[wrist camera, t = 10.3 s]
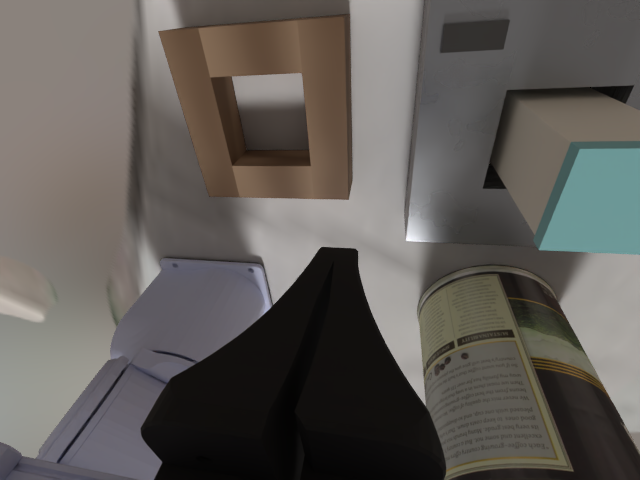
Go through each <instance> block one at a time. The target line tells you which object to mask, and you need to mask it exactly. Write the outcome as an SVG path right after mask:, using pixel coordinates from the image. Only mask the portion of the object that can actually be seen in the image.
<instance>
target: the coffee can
mask: <svg viewBox="0 0 640 480" xmlns="http://www.w3.org/2000/svg"><path fill="white" fill-rule="evenodd" d="M417 315H418V321H419V325H420V336H421V349H422V362H423V375H424V387H425V400H426V408H427V409H428V411H429V412H430V415H431V418H432V420H433V423H434V425H435V428H436V431H437V433H438V436H439V439H440V442H441V445H442V448H443V452H444V457H445V461H446V476H445V478H444V480H640V452H639V450H638V448H637V446H636V444H635V443H634V441H633V439H632V437H631V435H630V433H629V431H628V429H627V428H626V426H625V424H624V422H623V420H622V419H621V417H620V415H619V413H618V411H617V410H616V407H615V406H614V404H613V402H612V401H611V399H610V397H609V395H608V393H607V392H606V390H605V388H604V386H603V384H602V382H601V381H600V379H599V377H598V375H597V373H596V371H595V369H594V368H593V366H592V364H591V362H590V360H589V359H588V357H587V355H586V353H585V351H584V350H583V348H582V346H581V344H580V342H579V340H578V338H577V336H576V335H575V333H574V331H573V329H572V327H571V326H570V324H569V322H568V320H567V318H566V316H565V315H564V313H563V311H562V309H561V307H560V305H559V304H558V302H557V298H556V296H555V293H554V292H553V290H552V289H551V287H550V286H549V285H548V284H547V283H546V282H545V281H544V280H542V279H541V278H539V277H538V276H536V275H534V274H532V273H530V272H528V271H525V270H522V269H518V268H514V267H509V266H500V265H485V266H476V267H471V268H466V269H463V270H459V271H457V272H454V273H451V274H449V275H447V276H445V277H443V278H441V279H439V280H438V281H437V282H435V283H434V284H433V285H432V286H431V287H430V288H429V289H428V290H427V291H426V292H425V293H424V295H423V296H422V298H421V300H420V303H419V306H418V311H417Z"/></svg>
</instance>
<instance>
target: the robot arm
mask: <svg viewBox="0 0 640 480" xmlns="http://www.w3.org/2000/svg"><path fill="white" fill-rule="evenodd" d="M160 265H161V268H162V271H161V272H160V273H159V274H158V276H157V277H156V278H155V279H154V280H153V282H152V283H151V284H150V285H149V286H148V288H147V289H146V290H145V291H144V292H143V294H142V295H141V296H140V297H139V298H138V300H137V301H136V302H135V303H134V304H133V305H132V307H131V308H130V309H129V310H128V311H127V313H126V314H125V315H124V316H123V318H122V319H121V321H120V322H119V324H118V326H117V328H116V330H115V333H114V336H113V339H112V343H111V350H110V353H111V360H108V361H107V362H106V363H105V365H104V366H103V367H102V368H101V370H100V371H99V372H98V373H97V375H96V376H95V377H94V378H93V380H92V381H91V382H90V384H89V385H88V386H87V387H86V389H85V390H84V391H83V393H82V394H81V395H80V396H79V398H78V399H77V400H76V402H75V403H74V404H73V405H72V407H71V408H70V409H69V411H68V412H67V413H66V415H65V416H64V417H63V418H62V420H61V421H60V422H59V424H58V425H57V426H56V428H55V429H54V430H53V432H52V433H51V434H50V436H49V437H48V438H47V440H46V441H45V443H44V444H43V445H42V447H41V448H40V449H39V455H38V456H37V457H36V459H34V458H29V457H24V456H22V455H21V453H20V452H19V451H17V450H16V449H14V448H13V447H11V446H9V445H7V444H4V443H1V442H0V480H444V478H445V476H446V461H445V457H444V452H443V448H442V445H441V442H440V439H439V436H438V433H437V431H436V428H435V425H434V423H433V420H432V418H431V415H430V412H429V411H428V409H427V408H426V406H425V405H424V404H423V402H422V401H421V399H420V398H419V397H418V395H417V394H416V392H415V391H414V389H413V388H412V386H411V385H410V383H409V382H408V380H407V379H406V377H405V376H404V374H403V373H402V371H401V369H400V368H399V366H398V364H397V363H396V361H395V359H394V357H393V356H392V354H391V352H390V350H389V349H388V347H387V345H386V343H385V341H384V339H383V337H382V335H381V333H380V331H379V329H378V327H377V324H376V322H375V320H374V318H373V315H372V313H371V310H370V307H369V305H368V302H367V299H366V296H365V293H364V289H363V286H362V282H361V278H360V274H359V268H358V251H357V250H356V249H351V248H331V247H321V248H320V249H319V250H318V252H317V253H316V255H315V256H314V258H313V259H312V261H311V262H310V263H309V265H308V266H307V267H306V269H305V270H304V271H303V272H302V274H301V275H300V276H299V277H298V279H297V280H296V281H295V282H294V283H293V285H292V286H291V287H290V288H289V289H288V290H287V291H286V292H285V293H284V295H283V296H282V297H281V298H280V299H279V300H278V301H277V302H276V303H275V304H274V305H273V306H272V303H271V298H270V294H269V290H268V285H267V281H266V277H265V272H264V268H263V267H262V266H261V265H260V264H254V263H238V262H221V261H205V260H188V259H172V258H163V259H162V260H161V261H160ZM250 268H251V269H250ZM252 269H253V270H252Z"/></svg>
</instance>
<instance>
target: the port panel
mask: <svg viewBox="0 0 640 480" xmlns="http://www.w3.org/2000/svg"><path fill="white" fill-rule="evenodd" d="M575 87H592V88H591V89H594V90H596V91H598V92H600V93H602V94H605V95H607V96H609V97H611V98H613V99H616V100H618V101H620V102H622V103H624V104H627V105H629V106H631V107H633V108H635V109H637V110H640V0H425V2H424V12H423V23H422V33H421V44H420V55H419V65H418V76H417V86H416V97H415V108H414V118H413V129H412V139H411V150H410V161H409V171H408V182H407V192H406V203H405V214H404V217H405V233H406V241H417V242H440V243H463V244H486V245H509V246H532V247H536V245H535V243H534V241H533V239H534V236H535V235H534V233H533V231H532V230H531V228H530V226H529V225H528V223H527V222H526V220H525V218H524V217H523V215H522V213H521V212H520V210H519V208H518V207H517V205H516V203H515V202H514V200H513V198H512V197H511V195H510V193H509V192H508V190H507V188H506V187H505V185H504V183H503V182H502V180H501V178H500V177H499V175H498V174H497V172H496V170H495V169H494V167H493V165H489V161H490V157H491V153H492V149H493V145H494V141H495V137H496V132H497V128H498V124H499V120H500V116H501V112H502V108H503V104H504V100H505V96H506V92H507V90H519V89H547V88H575Z"/></svg>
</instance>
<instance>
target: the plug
mask: <svg viewBox="0 0 640 480" xmlns="http://www.w3.org/2000/svg"><path fill="white" fill-rule="evenodd" d="M490 162H491V164H492V165H493V167H494V169H495V170H496V172H497V174H498V175H499V177H500V178H501V180H502V182H503V183H504V185H505V187H506V188H507V190H508V192H509V193H510V195H511V197H512V198H513V200H514V202H515V203H516V205H517V207H518V208H519V210H520V212H521V213H522V215H523V217H524V218H525V220H526V222H527V223H528V225H529V226H530V228H531V230H532V231H533V233H534V235H535V236H534V239H533V241H534V243H535V245H536V247H537V248H538V250H547V251H570V252H592V253H615V254H638V255H640V110H637V109H635V108H633V107H631V106H629V105H627V104H624V103H622V102H620V101H618V100H616V99H613V98H611V97H609V96H607V95H605V94H602V93H600V92H598V91H596V90H594V89H591V88H589V87H575V88H547V89H519V90H507V92H506V96H505V100H504V104H503V108H502V112H501V116H500V120H499V124H498V128H497V132H496V137H495V141H494V145H493V149H492V153H491V157H490Z"/></svg>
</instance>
